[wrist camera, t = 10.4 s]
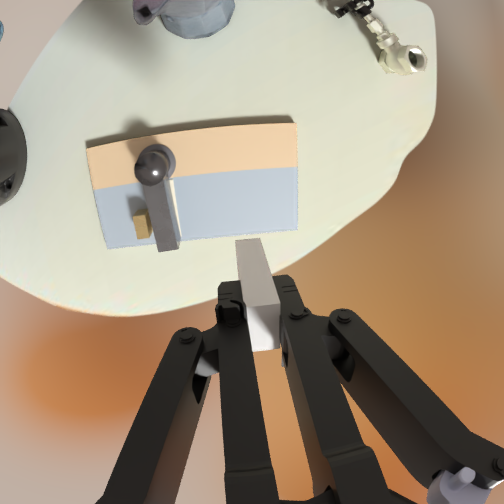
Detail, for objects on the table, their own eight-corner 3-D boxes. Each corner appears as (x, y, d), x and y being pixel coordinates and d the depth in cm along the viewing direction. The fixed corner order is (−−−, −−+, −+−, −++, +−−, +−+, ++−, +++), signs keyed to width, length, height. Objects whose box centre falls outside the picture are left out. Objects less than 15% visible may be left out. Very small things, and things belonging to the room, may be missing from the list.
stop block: (141, 231, 37) (137, 239, 35) (137, 209, 36) (132, 216, 33) (153, 229, 37) (149, 238, 35) (149, 208, 36) (144, 215, 33)
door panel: (110, 245, 39) (107, 249, 37) (89, 147, 32) (85, 149, 31) (295, 226, 40) (297, 230, 39) (294, 122, 34) (296, 123, 33)
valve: (410, 63, 31) (357, -3, 26) (439, 60, 25) (380, -17, 20) (383, 86, 32) (325, 18, 28) (410, 85, 26) (345, 4, 22)
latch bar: (139, 152, 32) (131, 157, 29) (167, 146, 32) (162, 150, 29) (158, 241, 38) (153, 254, 34) (185, 237, 38) (182, 249, 35)
